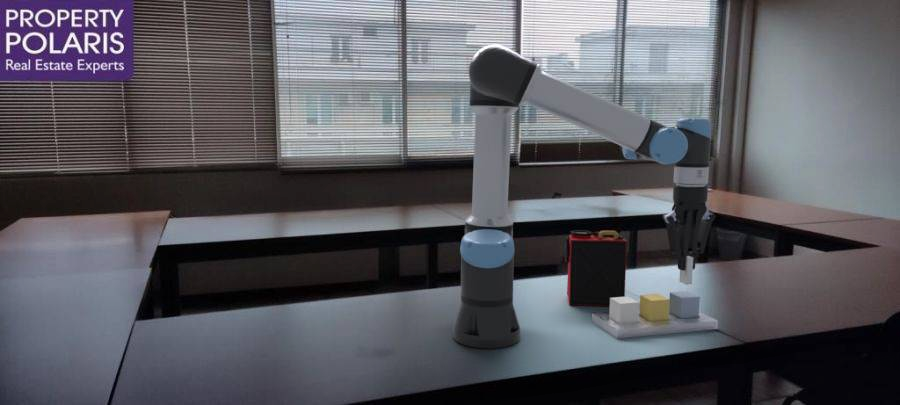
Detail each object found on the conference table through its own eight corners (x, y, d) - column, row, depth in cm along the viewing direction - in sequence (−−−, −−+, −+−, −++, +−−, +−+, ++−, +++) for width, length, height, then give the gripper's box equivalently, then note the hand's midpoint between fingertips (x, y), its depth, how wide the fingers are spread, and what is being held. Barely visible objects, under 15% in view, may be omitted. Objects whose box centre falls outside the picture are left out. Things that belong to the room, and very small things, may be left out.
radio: (619, 296, 166) (622, 225, 163) (626, 307, 156) (629, 232, 153) (561, 295, 167) (563, 224, 165) (565, 306, 157) (567, 231, 155)
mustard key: (650, 321, 139) (651, 300, 139) (639, 315, 144) (640, 295, 143) (668, 319, 140) (669, 299, 140) (657, 313, 145) (658, 293, 144)
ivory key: (619, 324, 137) (620, 303, 137) (609, 318, 142) (610, 297, 141) (638, 323, 139) (639, 302, 138) (627, 316, 143) (628, 296, 143)
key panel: (617, 338, 134) (617, 329, 133) (591, 321, 145) (592, 313, 145) (717, 329, 140) (718, 320, 139) (685, 313, 151) (686, 305, 151)
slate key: (680, 318, 141) (681, 298, 141) (668, 312, 146) (669, 292, 145) (698, 317, 142) (699, 296, 142) (686, 310, 147) (687, 291, 146)
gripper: (675, 187, 135) (670, 289, 138) (725, 185, 138) (719, 285, 141) (656, 184, 142) (652, 280, 145) (704, 182, 145) (699, 277, 148)
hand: (685, 282), depth 143 cm, fingers closed
